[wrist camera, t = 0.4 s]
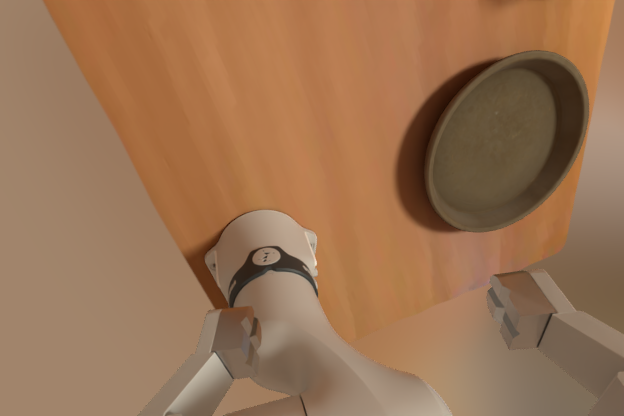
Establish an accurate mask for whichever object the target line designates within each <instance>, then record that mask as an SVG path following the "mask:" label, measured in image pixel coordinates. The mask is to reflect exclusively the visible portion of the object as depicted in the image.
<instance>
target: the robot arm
mask: <svg viewBox="0 0 624 416" xmlns="http://www.w3.org/2000/svg"><path fill="white" fill-rule="evenodd" d="M310 243H311V244H310ZM316 244H317V237H316V234H315V233H314V232H313V231H311V230H308V229H305V228H302V227H301V226H300V225H299V224H298V223H297V222H296V221H294V220H293V219H292V218H291V217H289V216H288V215H286V214H284V213H281V212H278V211H273V210H258V211H253V212H249V213H246V214H244V215H242V216H240V217H238V218H237V219H235V220H234V221H233V222H231V223H230V224H229V225H228V226H227V227H226V229H225V230H224V231H223V233H222V235H221V237H220V239H219V241H218V243H217V244H216V245H215V246H214V247H213V248H212V249H211V250H209V251H208V252H207V253H206V255H205V263H206V265H207V267H208V269H209V270H210V272H211V274H212V276H213V277H214V279H215V281H216V283H217V285H218V287H219V288H220V290H221V291H222V293H223V295H224V297H225V298H226V300H227V302H228V306H229V308H224V309H215V310H209V311H208V313H207V314H206V317H205V321H204V324H203V328H202V331H201V335H200V339H199V342H198V346H197V349H196V353H195V354H192V355H190V357H189V358H188V359H187V360H186V361H185V362H184V363H183V364H182V366H181V367H180V368H179V369H178V370H177V371H176V373H175V374H174V375H173V376H172V377H171V378H170V379H169V380H168V382H167V383H166V384H165V385H164V386H163V387H162V388H161V389H160V391H159V392H158V393H157V394H156V395H155V396H154V397H153V398H152V400H151V401H150V402H149V403H148V404H147V405H146V406H145V408H144V409H143V410H142V411H141V412H140V413H139V414H138V415H137V416H212V415H213V413H214V412H215V410H216V408H217V407H218V405H219V404H220V402H221V400H222V399H223V397H224V396H225V394H226V393H227V391H228V389H229V388H230V386H231V385H232V382H233V381H234V380H233V379H240V378H248V377H250V378H251V379H252V380H253V381H254V382H256V383H257V384H258V385H260V386H262V387H264V388H266V389H269V390H273V391H277V392H281V393H285V394H288V395H290V397H287V398H283V399H280V400H276V401H272V402H268V403H265V404H261V405H257V406H254V407H251V408H246V409H243V410H239V411H235V412H232V413H228V414H226V415H223V416H453V415H452V413H451V411H450V409H449V408H448V406H447V405H446V403H445V402H444V400H443V399H442V398H441V396H440V395H439V394H438V393H437V392H436V391H435V390H434V389H433V388H432V387H431V386H430V385H429V384H428V383H426V382H425V381H423V380H422V379H421V378H419V377H418V376H416V375H414V374H411V373H407V372H403V371H399V370H396V369H393V368H390V367H387V366H385V365H382V364H380V363H378V362H376V361H374V360H372V359H370V358H368V357H367V356H365V355H363V354H361V353H360V352H358V351H357V350H356V349H354V348H353V347H352V346H350V345H349V344H348V343H347V342H345V341H344V340H343V339H342V338H341V337H340V336H339V335H338V334H337V333H336V332H335V331H334V329H333V328H332V326H331V325H330V323H329V321H328V319H327V317H326V315H325V313H324V311H323V309H322V307H321V305H320V303H319V301H318V291H317V282H316V280H315V279H314V277H316V276H317V269H316V268H315V266H316V265H317V262H316V258H315V251H316ZM213 264H216V265H213ZM490 284H491V286H492V288H490V289H489V290H488V292H487V304H488V308H489V310H490V313H491V315H492V317H493V319H494V320H496V321H497V322H499V323H500V324H501V328H500V333H501V335H502V337H503V339H504V341H505V342H506V344H507V346H508V348H509V350H515V349H529V348H538V350H539V351H540V352H542V353H543V354H544V355H545V356H546V357H548V358H549V359H550V360H551V361H553V362H554V363H555V364H556V365H558V366H559V367H560V368H562V369H563V370H564V371H565V372H566V373H567V374H569V375H570V376H571V377H572V378H574V379H575V380H576V381H577V382H578V383H580V384H581V385H582V386H584V387H585V388H586V389H587V390H588V391H589V392H591V393H592V394H593V395H594V396H596V397H597V398H598V400H597V401H596V403H595V404H594V405H593V407H592V408H591V409H590V412H589V414H588V416H624V334H622V333H620V332H618V331H616V330H615V329H613V328H611V327H609V326H607V325H606V324H604V323H602V322H601V321H599V320H597V319H595V318H594V317H592V316H590V315H588V314H586V313H585V312H583V311H576V310H575V309H574V307H573V306H572V305H571V303H570V302H569V301H568V300H567V298H566V297H565V296H564V294H563V293H562V292H561V290H560V289H559V288H558V287H557V285H556V284H555V283H554V281H553V280H552V279H551V277H550V276H549V275H548V273H547V272H546V271H545V270H543V269H535V270H528V271H517V272H510V273H503V274H495V275H492V276H491V278H490Z"/></svg>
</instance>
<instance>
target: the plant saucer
mask: <svg viewBox="0 0 624 416" xmlns="http://www.w3.org/2000/svg"><path fill="white" fill-rule="evenodd" d="M588 118H589V98H588V92H587V88H586V84H585V81H584V79H583V77H582V75H581V73H580V72H579V70H578V69H577V68H576V67H575V65H574V64H573V63H572V62H570V61H569V60H568V59H566V58H565V57H563V56H561V55H559V54H557V53H553V52H549V51H540V50H535V51H526V52H521V53H517V54H514V55H511V56H508V57H506V58H504V59H501V60H499V61H497V62H495V63H494V64H492V65H490V66H489V67H487V68H486V69H484V70H483V71H481V72H480V73H479V74H477V75H476V76H475V77H473V78H472V79H471V80H470V81H469V82H468V83H466V84H465V85H464V86H463V87H462V88H461V89H460V90H459V92H458V93H457V94H456V95H455V96H454V97H453V99H452V100H451V101H450V102H449V104H448V105H447V107H446V108H445V110H444V111H443V113H442V114H441V116H440V118H439V120H438V122H437V124H436V126H435V128H434V130H433V133H432V135H431V138H430V141H429V144H428V147H427V151H426V157H425V164H424V180H425V187H426V191H427V195H428V198H429V201H430V203H431V205H432V207H433V209H434V210H435V212H436V213H437V214H438V215H439V217H440V218H441V219H443V220H444V221H445V222H446V223H448V224H449V225H451V226H453V227H455V228H457V229H460V230H463V231H468V232H488V231H494V230H498V229H501V228H504V227H506V226H509V225H511V224H513V223H515V222H517V221H519V220H521V219H522V218H524V217H525V216H527V215H528V214H530V213H531V212H533V211H534V210H535V209H536V208H538V207H539V206H540V205H541V204H542V203H543V202H544V201H545V200H546V199H547V198H548V197H549V196H550V195H551V194H552V193H553V192H554V191H555V190H556V188H557V187H558V186H559V185H560V183H561V182H562V181H563V179H564V178H565V176H566V175H567V174H568V172H569V170H570V169H571V167H572V165H573V163H574V161H575V160H576V158H577V155H578V153H579V151H580V149H581V146H582V144H583V140H584V137H585V133H586V129H587V125H588Z"/></svg>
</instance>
